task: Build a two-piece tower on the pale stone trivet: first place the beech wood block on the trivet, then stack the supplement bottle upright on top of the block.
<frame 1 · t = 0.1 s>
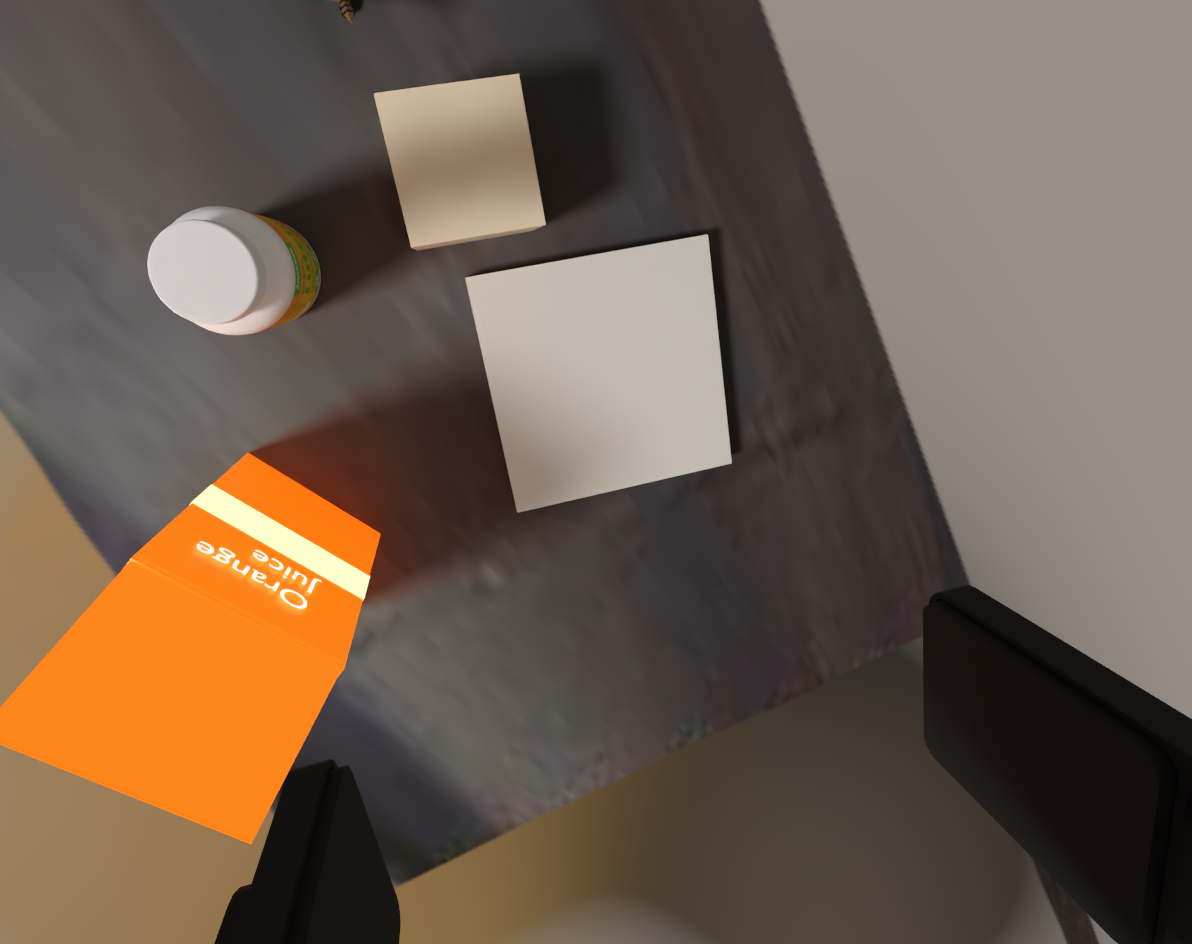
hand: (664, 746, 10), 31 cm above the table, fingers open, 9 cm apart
beech block: (462, 178, 36), on the table
orange juice: (281, 542, 39), on the table
supplement bottle: (269, 271, 35), on the table
trivet: (605, 375, 40), on the table
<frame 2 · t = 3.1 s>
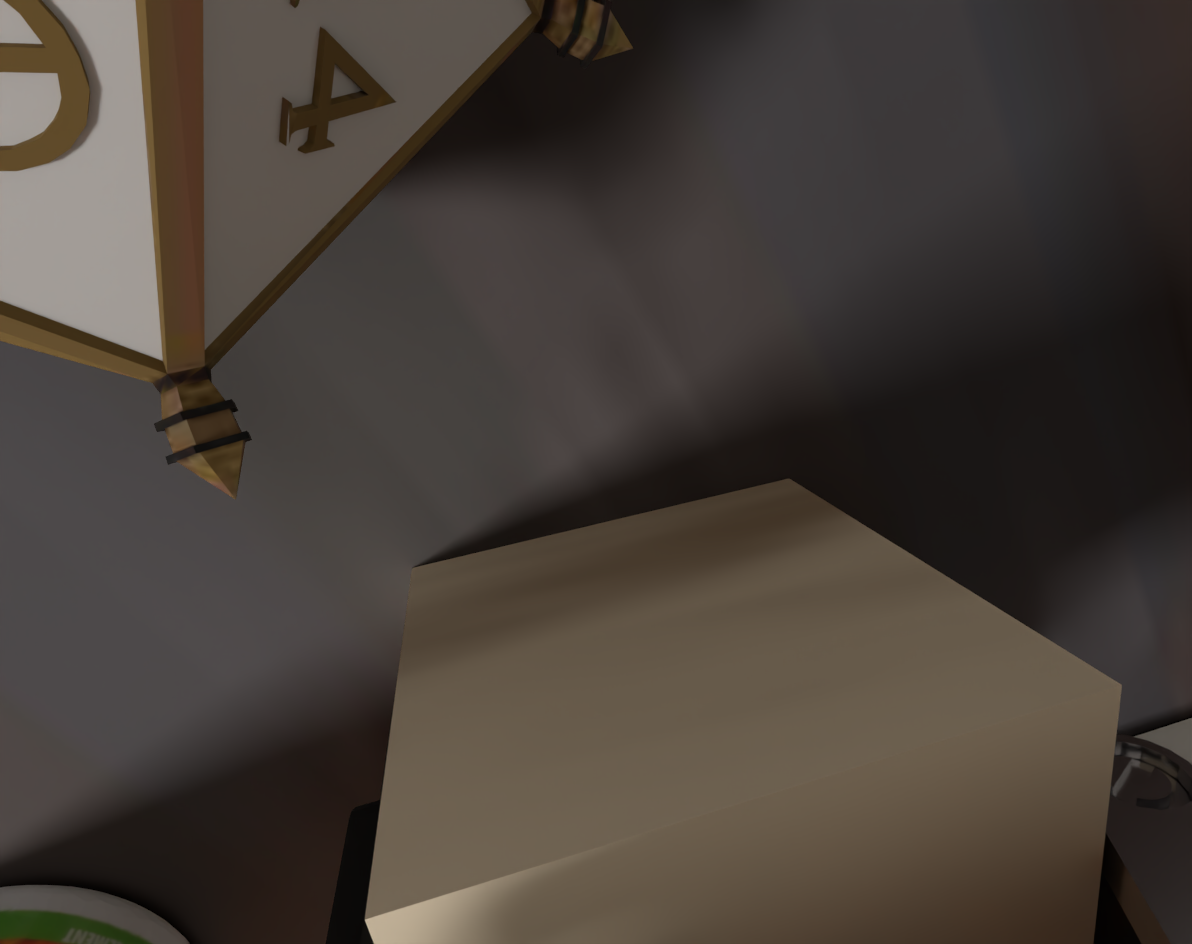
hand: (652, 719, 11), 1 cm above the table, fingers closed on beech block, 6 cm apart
beech block: (636, 683, 12), on the table, touching gripper
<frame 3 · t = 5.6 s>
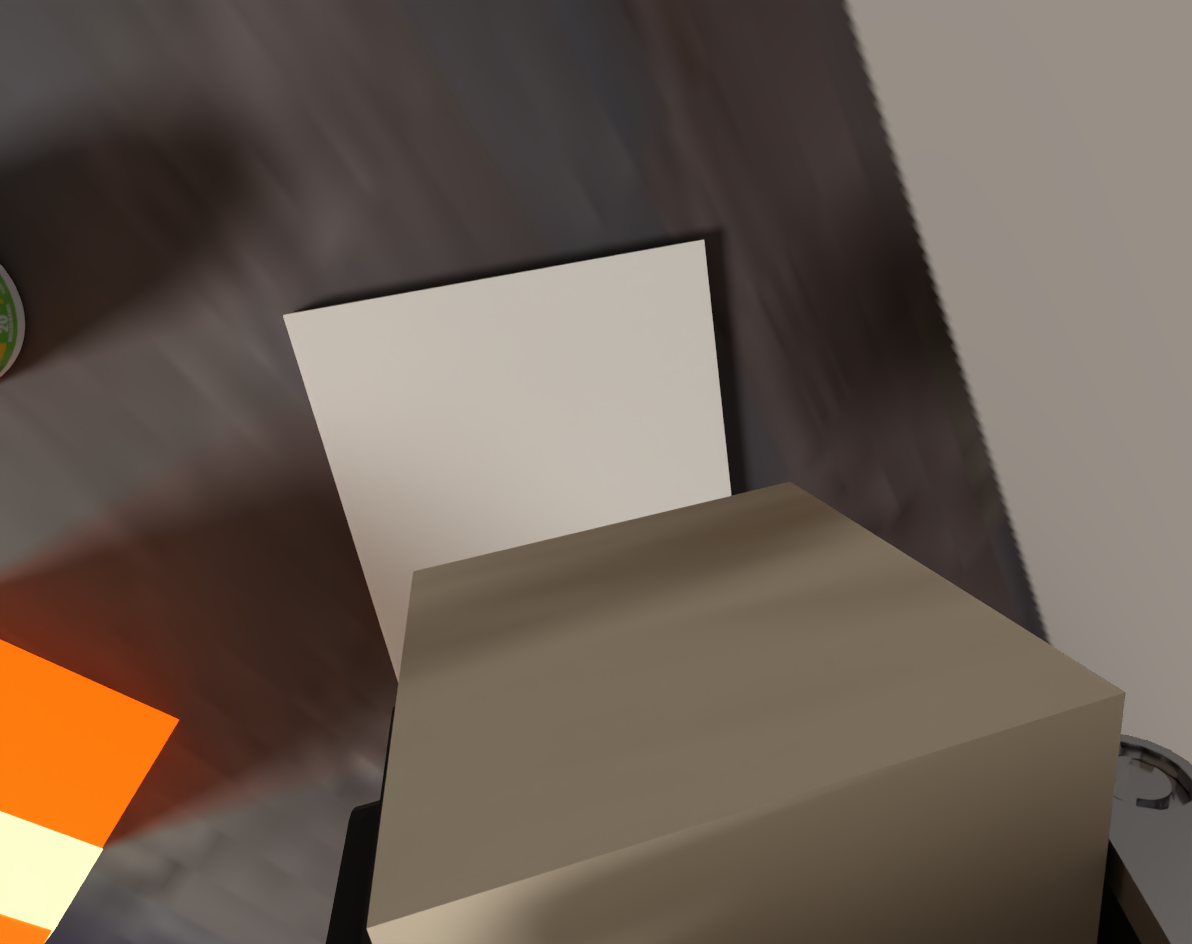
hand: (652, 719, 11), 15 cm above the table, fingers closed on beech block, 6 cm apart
beech block: (637, 686, 12), point 14 cm above the table, touching gripper
orange juice: (10, 741, 24), on the table
trivet: (539, 465, 25), on the table
when the fingers open (3 cm above the table, at t = 8.2 s): beech block stays where it is, resting on trivet.
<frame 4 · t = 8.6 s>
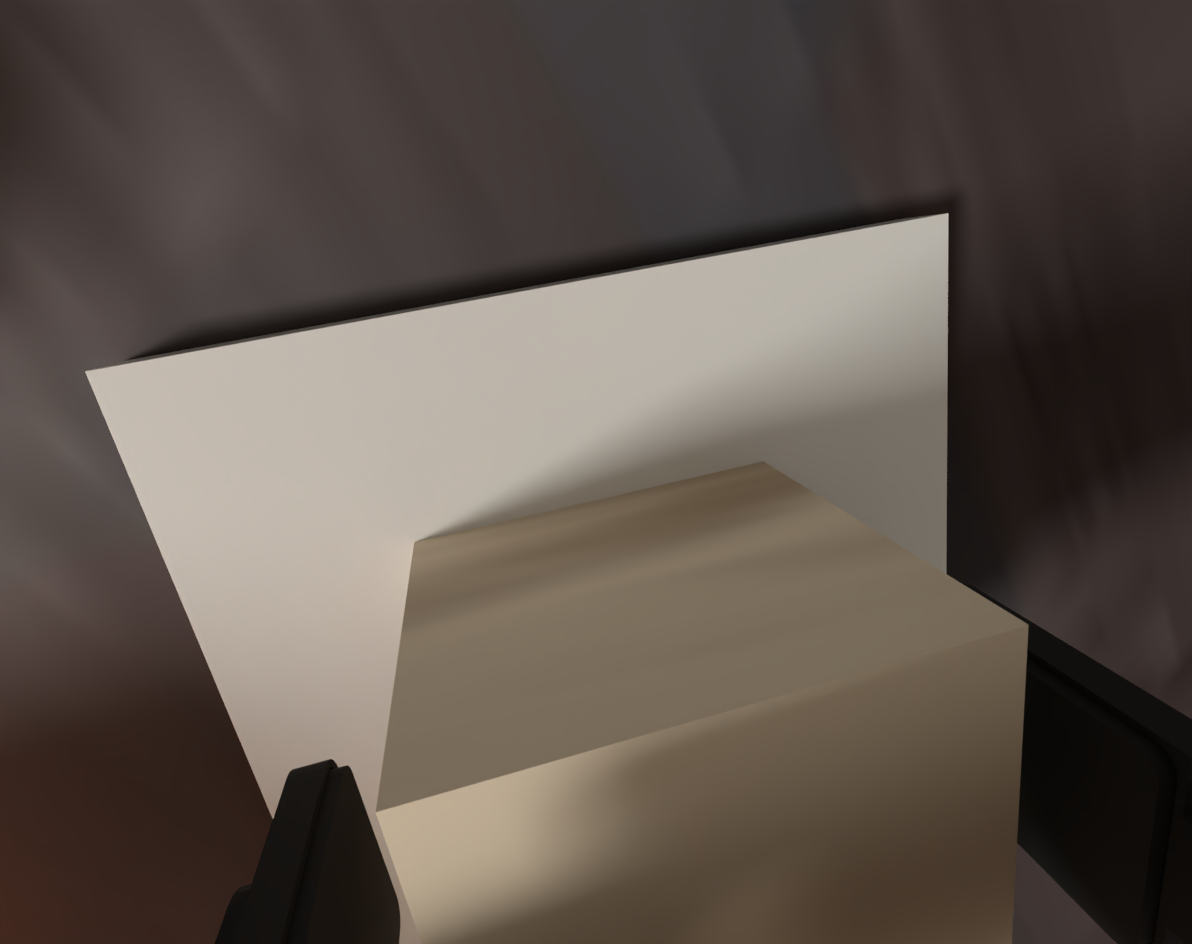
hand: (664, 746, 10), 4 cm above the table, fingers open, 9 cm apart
beech block: (622, 652, 13), point 1 cm above the table, touching trivet
trivet: (610, 624, 14), on the table
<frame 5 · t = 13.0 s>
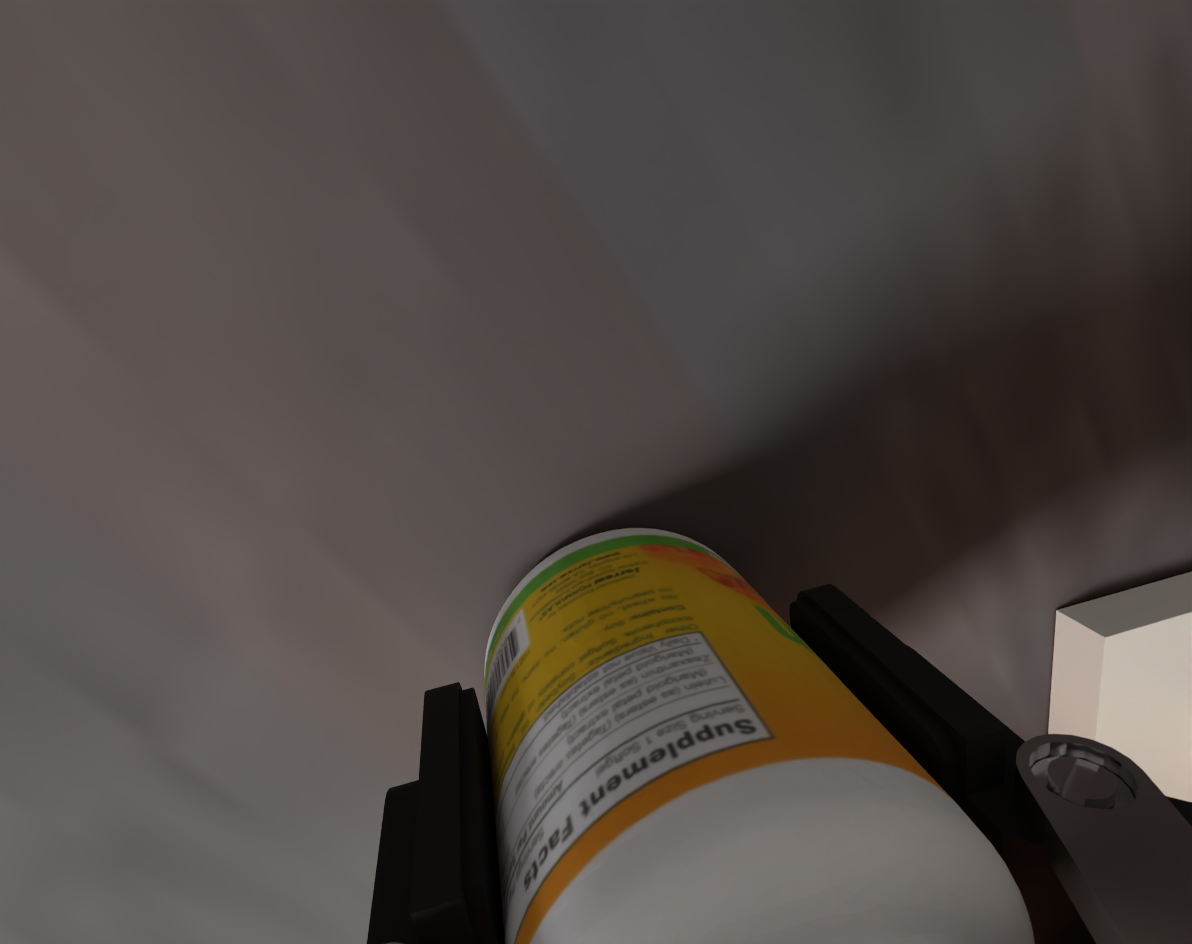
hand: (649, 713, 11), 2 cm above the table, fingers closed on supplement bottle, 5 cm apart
supplement bottle: (618, 643, 13), on the table, touching gripper
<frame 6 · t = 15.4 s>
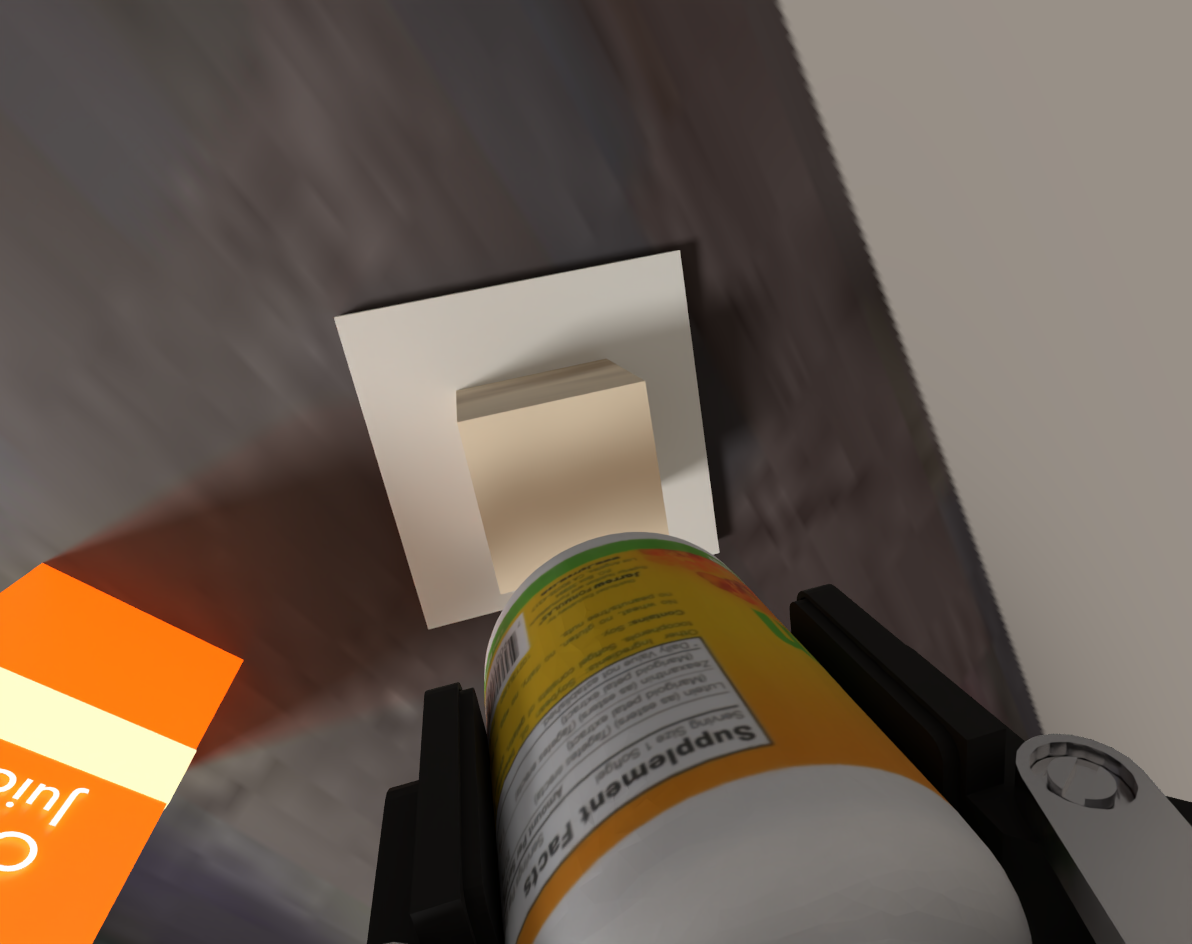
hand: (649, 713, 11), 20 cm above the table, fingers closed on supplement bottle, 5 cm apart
beech block: (547, 446, 29), point 1 cm above the table, touching trivet
orange juice: (103, 677, 29), on the table
supplement bottle: (618, 646, 13), point 17 cm above the table, touching gripper
trivet: (544, 441, 30), on the table
when the fingers open (10 cm above the table, at t = 18.0 s): supplement bottle drops 1 cm, resting on beech block.
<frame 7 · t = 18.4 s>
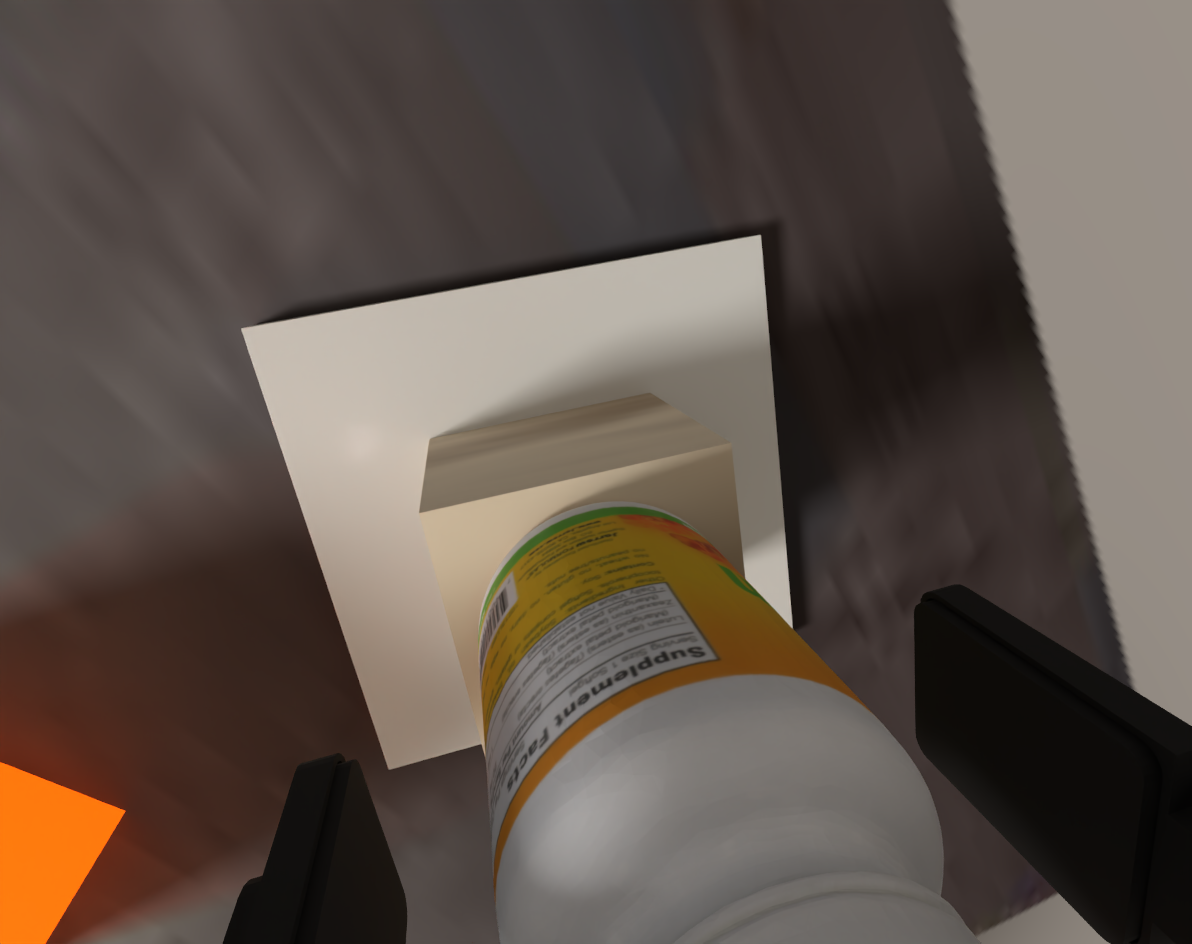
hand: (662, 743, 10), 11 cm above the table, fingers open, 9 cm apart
beech block: (562, 518, 20), point 1 cm above the table, touching supplement bottle, trivet
supplement bottle: (602, 609, 14), point 7 cm above the table, touching beech block
trivet: (557, 505, 21), on the table
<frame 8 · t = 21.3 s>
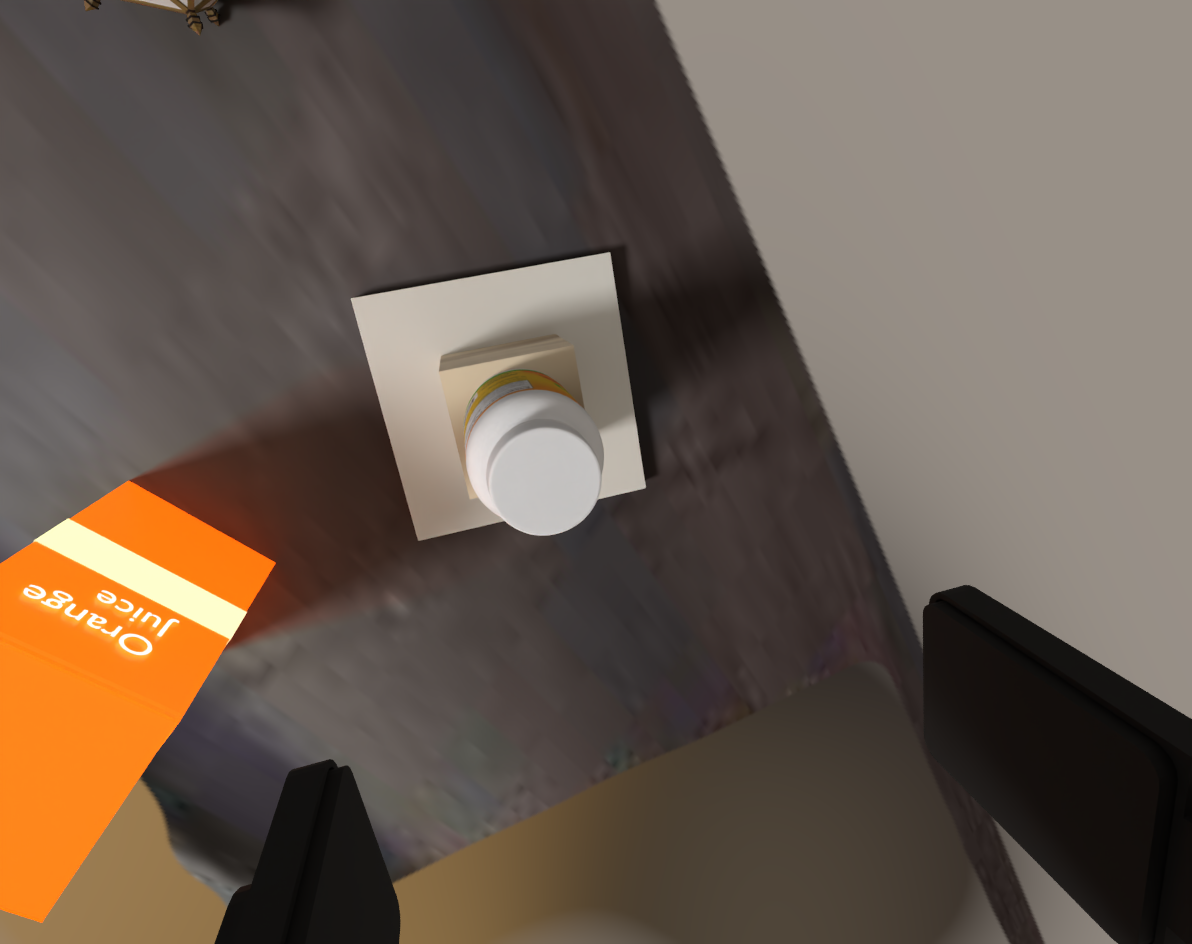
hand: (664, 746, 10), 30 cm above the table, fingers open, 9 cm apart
beech block: (510, 400, 38), point 1 cm above the table, touching supplement bottle, trivet
orange juice: (169, 572, 38), on the table
supplement bottle: (519, 421, 32), point 7 cm above the table, touching beech block
trivet: (509, 397, 39), on the table
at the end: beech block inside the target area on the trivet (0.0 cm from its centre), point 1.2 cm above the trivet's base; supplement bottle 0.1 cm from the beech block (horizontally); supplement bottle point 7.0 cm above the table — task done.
